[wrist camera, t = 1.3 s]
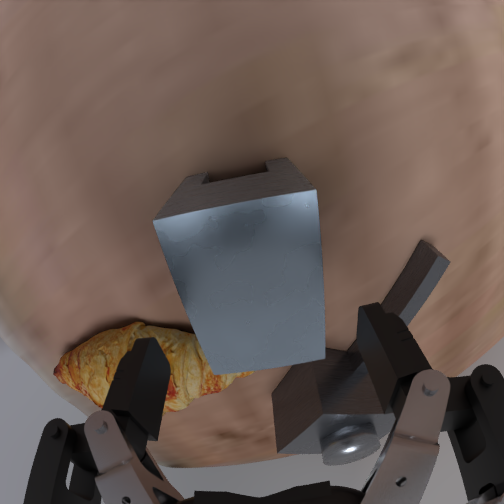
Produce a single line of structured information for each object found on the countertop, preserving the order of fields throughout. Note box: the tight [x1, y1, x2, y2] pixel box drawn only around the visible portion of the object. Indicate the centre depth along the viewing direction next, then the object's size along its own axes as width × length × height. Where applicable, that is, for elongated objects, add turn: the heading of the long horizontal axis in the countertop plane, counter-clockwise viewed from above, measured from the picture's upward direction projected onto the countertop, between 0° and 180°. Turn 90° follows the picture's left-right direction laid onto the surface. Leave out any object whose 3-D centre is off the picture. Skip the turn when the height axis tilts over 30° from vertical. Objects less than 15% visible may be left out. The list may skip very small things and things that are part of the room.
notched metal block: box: [153, 158, 325, 375], centre depth 15 cm, size 9×6×7 cm, turn 10°
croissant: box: [54, 322, 255, 416], centre depth 21 cm, size 21×10×8 cm, turn 102°
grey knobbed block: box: [272, 240, 450, 465], centre depth 19 cm, size 20×10×9 cm, turn 160°
